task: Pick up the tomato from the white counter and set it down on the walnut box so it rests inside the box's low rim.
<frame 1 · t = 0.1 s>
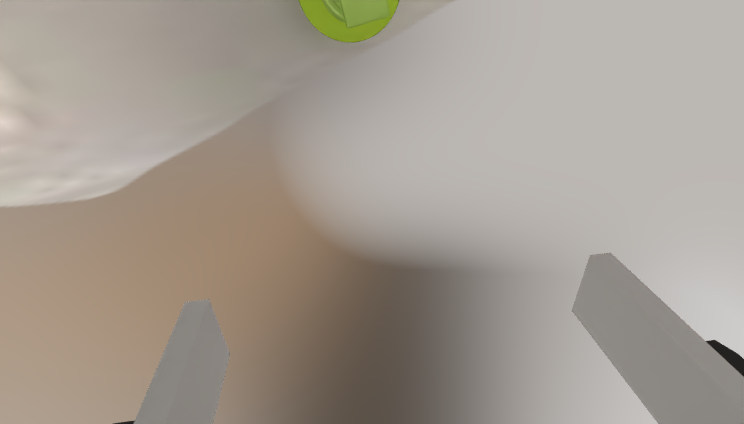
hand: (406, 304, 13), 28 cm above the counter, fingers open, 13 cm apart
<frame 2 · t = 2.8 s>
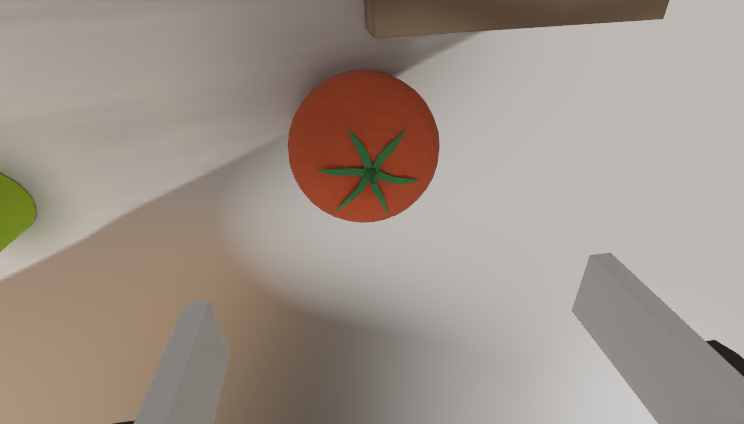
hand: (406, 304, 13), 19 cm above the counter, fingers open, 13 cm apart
tomato: (357, 125, 30), on the counter
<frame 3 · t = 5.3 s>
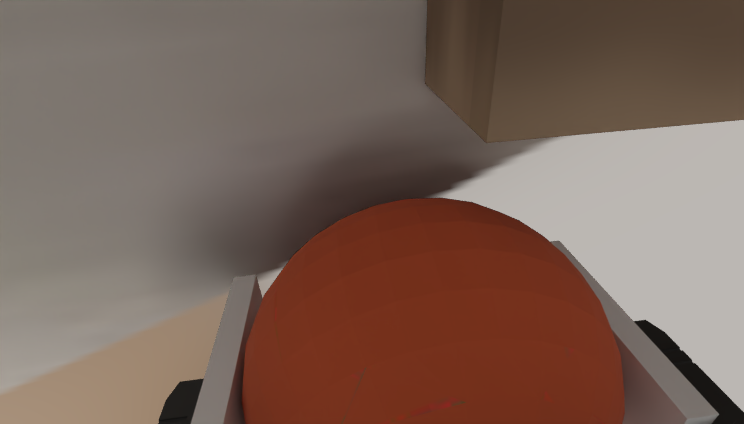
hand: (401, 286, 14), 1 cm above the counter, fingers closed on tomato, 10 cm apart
tomato: (395, 261, 15), on the counter, touching gripper
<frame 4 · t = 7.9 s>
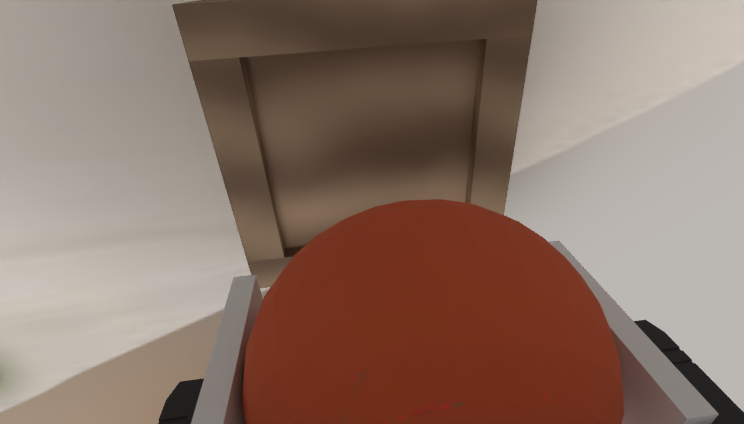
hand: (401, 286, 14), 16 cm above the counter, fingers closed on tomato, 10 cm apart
walnut box: (364, 134, 27), on the counter
tomato: (395, 261, 15), point 14 cm above the counter, touching gripper
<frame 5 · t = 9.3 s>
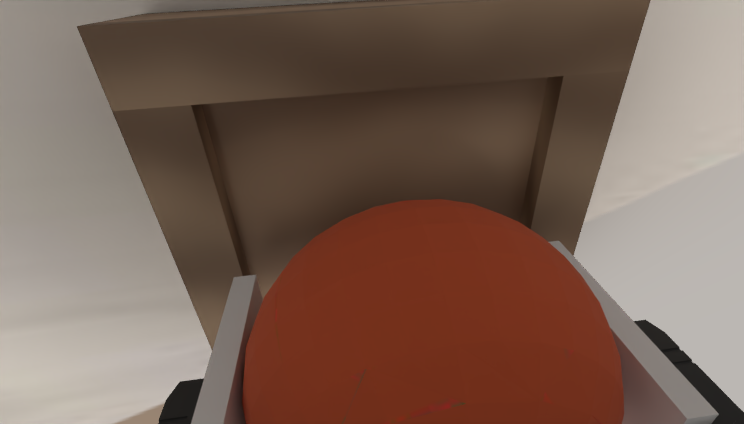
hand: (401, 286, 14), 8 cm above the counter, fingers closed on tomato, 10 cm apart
walnut box: (374, 188, 21), on the counter
tomato: (395, 261, 15), point 6 cm above the counter, touching gripper
when the fingers open (7 cm above the counter, at t = 10.5 s): tomato drops 1 cm, resting on walnut box.
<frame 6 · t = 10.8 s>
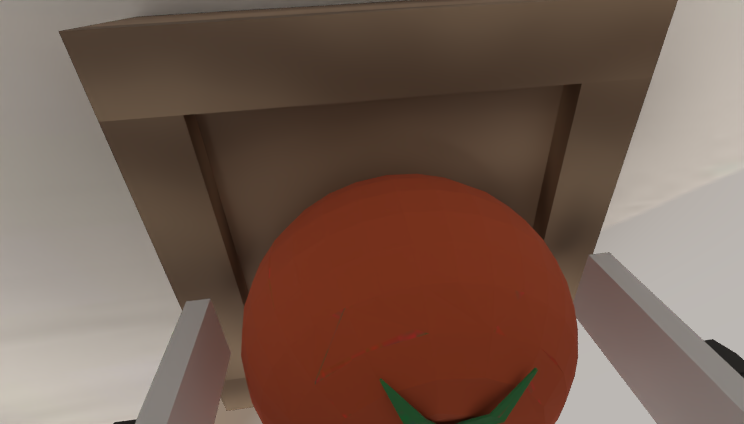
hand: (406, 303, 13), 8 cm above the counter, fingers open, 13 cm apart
walnut box: (378, 197, 20), on the counter
tomato: (383, 240, 16), point 4 cm above the counter, touching walnut box
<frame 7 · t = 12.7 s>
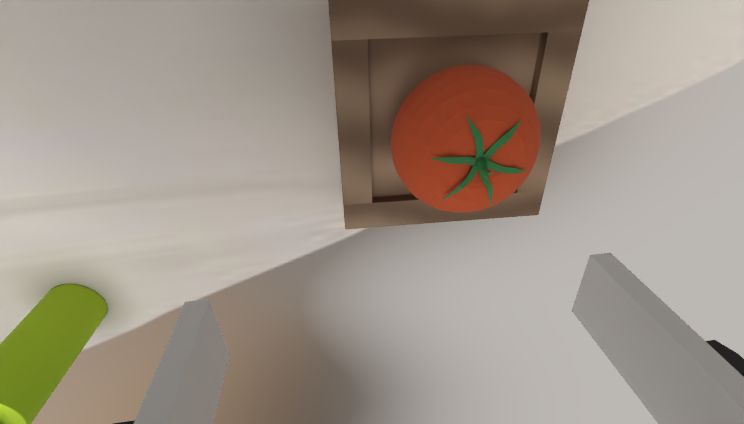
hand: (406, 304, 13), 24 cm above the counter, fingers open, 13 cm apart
walnut box: (436, 108, 34), on the counter
soap dispenser: (75, 299, 41), on the counter
tomato: (444, 121, 31), point 4 cm above the counter, touching walnut box
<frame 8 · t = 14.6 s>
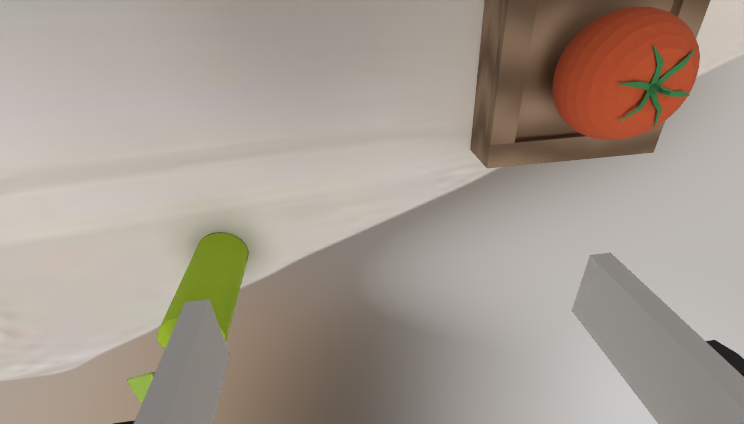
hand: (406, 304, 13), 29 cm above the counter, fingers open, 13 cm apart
walnut box: (564, 59, 38), on the counter
soap dispenser: (221, 248, 45), on the counter
tomato: (584, 66, 35), point 4 cm above the counter, touching walnut box
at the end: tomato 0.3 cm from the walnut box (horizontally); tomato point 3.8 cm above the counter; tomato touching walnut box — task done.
